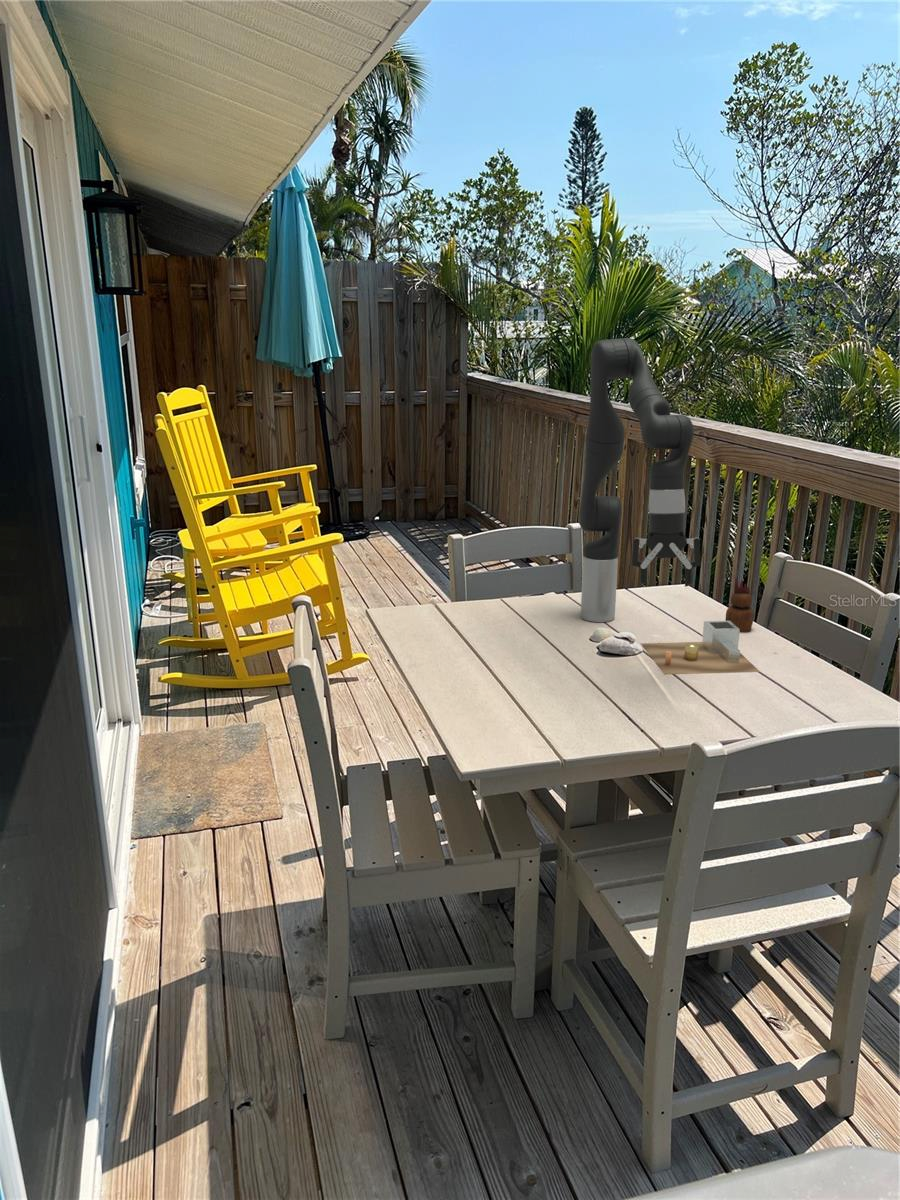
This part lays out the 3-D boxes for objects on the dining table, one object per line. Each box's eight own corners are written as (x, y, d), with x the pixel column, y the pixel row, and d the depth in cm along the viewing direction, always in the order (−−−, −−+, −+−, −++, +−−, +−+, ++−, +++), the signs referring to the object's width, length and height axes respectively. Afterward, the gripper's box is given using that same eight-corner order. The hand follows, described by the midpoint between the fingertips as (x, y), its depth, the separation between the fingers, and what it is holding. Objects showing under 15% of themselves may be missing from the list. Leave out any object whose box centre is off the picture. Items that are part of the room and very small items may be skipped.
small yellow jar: (682, 656, 209) (683, 642, 208) (695, 656, 209) (696, 642, 208) (686, 661, 206) (687, 647, 205) (699, 660, 207) (700, 646, 206)
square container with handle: (702, 644, 217) (704, 621, 215) (727, 643, 217) (729, 620, 216) (719, 663, 205) (722, 638, 203) (746, 662, 206) (749, 638, 204)
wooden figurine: (723, 636, 227) (728, 579, 223) (725, 629, 232) (730, 574, 228) (750, 639, 225) (756, 582, 220) (752, 632, 230) (758, 576, 225)
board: (640, 649, 218) (640, 643, 218) (727, 646, 220) (728, 641, 219) (663, 680, 199) (664, 674, 199) (759, 677, 201) (760, 671, 200)
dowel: (664, 663, 205) (665, 651, 204) (669, 663, 205) (670, 650, 204) (666, 665, 204) (667, 652, 203) (671, 664, 204) (672, 652, 203)
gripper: (701, 509, 191) (700, 583, 193) (633, 509, 194) (633, 583, 197) (701, 511, 184) (700, 589, 186) (631, 512, 187) (631, 588, 190)
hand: (665, 585), depth 192 cm, fingers open, 8 cm apart
